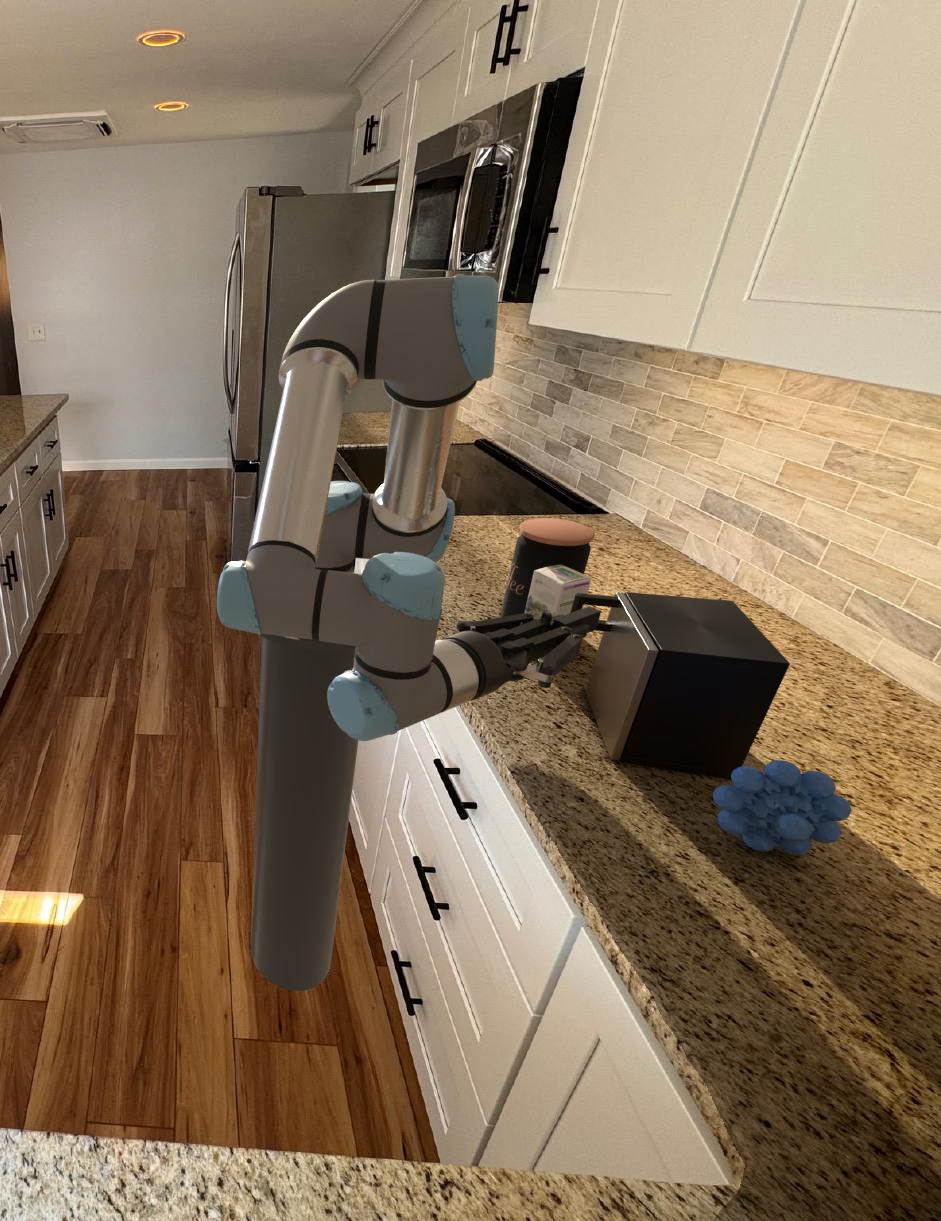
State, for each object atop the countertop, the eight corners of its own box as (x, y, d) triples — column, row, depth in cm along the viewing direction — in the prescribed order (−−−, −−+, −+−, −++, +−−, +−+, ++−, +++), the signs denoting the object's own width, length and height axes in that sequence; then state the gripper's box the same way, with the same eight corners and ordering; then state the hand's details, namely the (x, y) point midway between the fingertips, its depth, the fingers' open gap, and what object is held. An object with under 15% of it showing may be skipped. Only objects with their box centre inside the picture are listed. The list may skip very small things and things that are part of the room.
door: (565, 752, 89) (598, 644, 81) (545, 686, 102) (572, 588, 94) (619, 761, 87) (658, 650, 79) (592, 693, 100) (624, 592, 92)
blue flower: (710, 868, 72) (751, 783, 66) (685, 823, 77) (721, 740, 72) (848, 892, 68) (904, 803, 62) (811, 842, 74) (860, 757, 68)
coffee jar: (504, 605, 125) (525, 514, 117) (571, 618, 120) (597, 523, 111) (494, 629, 118) (515, 534, 110) (564, 644, 112) (592, 545, 104)
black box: (621, 762, 87) (661, 649, 79) (592, 693, 100) (625, 591, 92) (736, 780, 83) (790, 663, 75) (690, 706, 96) (733, 600, 88)
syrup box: (571, 657, 109) (594, 576, 102) (542, 664, 107) (563, 583, 101) (542, 640, 114) (563, 562, 107) (514, 647, 112) (533, 569, 106)
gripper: (405, 671, 82) (538, 622, 91) (497, 728, 72) (638, 667, 80) (413, 617, 79) (550, 572, 87) (511, 670, 68) (657, 612, 76)
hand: (592, 618), depth 84 cm, fingers closed
